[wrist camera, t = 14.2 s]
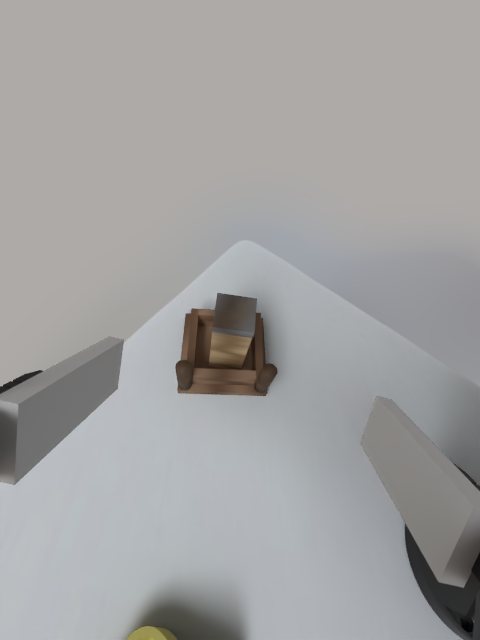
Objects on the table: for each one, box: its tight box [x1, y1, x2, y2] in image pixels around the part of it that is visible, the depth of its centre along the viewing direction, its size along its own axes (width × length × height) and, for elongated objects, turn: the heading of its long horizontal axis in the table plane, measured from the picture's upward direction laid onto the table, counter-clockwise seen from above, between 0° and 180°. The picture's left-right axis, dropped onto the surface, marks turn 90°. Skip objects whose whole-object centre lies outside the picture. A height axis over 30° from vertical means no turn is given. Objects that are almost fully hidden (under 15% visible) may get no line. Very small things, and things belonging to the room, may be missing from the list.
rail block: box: [209, 293, 257, 370], centre depth 37 cm, size 5×5×11 cm
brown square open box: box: [176, 309, 277, 396], centre depth 39 cm, size 12×12×7 cm
